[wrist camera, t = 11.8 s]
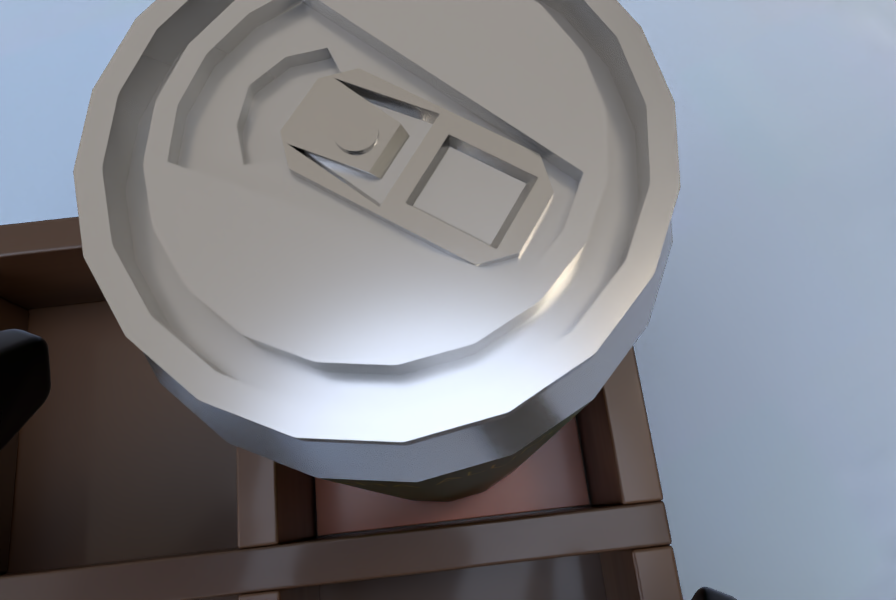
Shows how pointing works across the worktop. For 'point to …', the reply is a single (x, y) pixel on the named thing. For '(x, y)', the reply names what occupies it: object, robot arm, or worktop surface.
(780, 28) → the worktop surface
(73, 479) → the rack
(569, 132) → the beer can
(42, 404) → the robot arm
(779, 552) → the worktop surface
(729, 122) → the worktop surface
